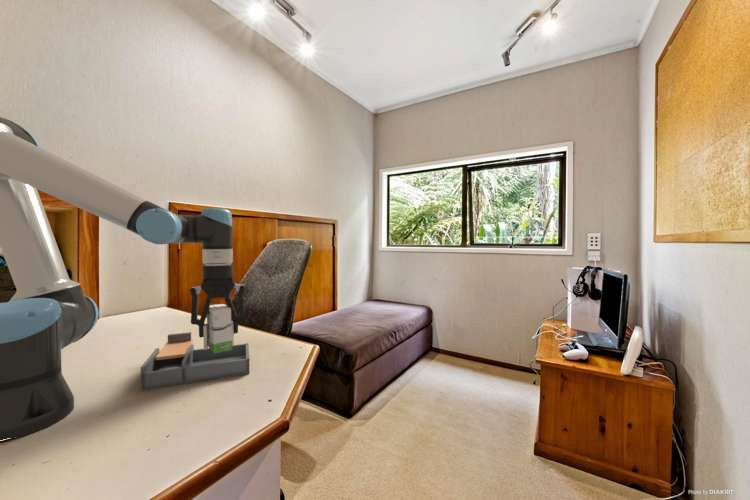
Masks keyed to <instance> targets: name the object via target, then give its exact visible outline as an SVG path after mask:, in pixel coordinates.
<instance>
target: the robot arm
mask: <svg viewBox="0 0 750 500" xmlns="http://www.w3.org/2000/svg"><path fill="white" fill-rule="evenodd" d="M38 190H39V191H41V192H43V193H45V194H47V195H50V196H52V197H53V198H57V199H58V200H60V201H63V202H65V203H68V204H69V205H72V206H74V207H77V208H79V209H81V210H83V211H86V212H88V213H89V214H93V215H94V216H97V217H99V218H100V219H103V220H106V221H108V222H109V223H112V224H115V225H117V226H119V227H121V228H123V229H126V230H128V231H130V232H132V233H134V234H135V235H138V236H140V237H141V238H142V239H143V240H145V241H147V242H149V243H152V244H155V245H168V244H202V245H201V246H202V252H201V253H202V255H201V256H202V264H204V265H203V266H202V282H201V284H200V285H198V286H192V287H191V288H190V289H189V292H190V294H191V314H190V315H191V316H190V324H191V325H197V327H198V337H199V338H203V349H204V350H207V348H209V347H208V324H207V323H205V322H206V320H207V313H208V310H209V307H210V305H212V302H213V301H212V300H213V299H218V298H221V299H224V301H225V304H226V306H228V307H229V308H231V332H232V346H234V345H235V334H238V333H239V322H240V321H242V320H245V316H246V315H245V305H244V304H245V303H244V294H243V293H244V291H245V284H243V283H241V284H239V283H236V282H235V280H234V266H233V265H232V264H233V262H234V255H233V253H234V252H233V250H234V249H233V216H232V215H233V214H232V212H231V211H230V209H226V208H220V207H219V208H218V207H207V208H205V207H204V208H202V210H201V213H200V215H199V214H198V215H189V214H187V215H186V214H176V213H174V212H172V211H170V210H168V209H166V208H163V207H161V206H159V205H157V204H156V203H153V202H151V201H148V200H147V199H145V198H143V197H140V196H139V195H137V194H135V193H134V192H131V191H129V190H127V189H124V188H122V187H121V186H118V185H116V184H114V183H113V182H111V181H108V180H106V179H105V178H103V177H100V176H98V175H96V174H94V173H92V172H90V171H89V170H86V169H84V168H82V167H80V166H78V165H76V164H74V163H72V162H70V161H68V160H65V158H64V159H63V158H62V157H60V156H58V155H56V154H54V153H52V152H50V151H47V150H45V149H43V148H42V146H41V144H40V143H39V141H38V140H37V138H36V137H35V136H34V135H33V134H32V133H31V132H29V131H28V130H26V129H25V128H24V127H22V126H21V125H19V124H18V123H16V122H14V121H12V120H10V119H7V118H5V117H4V118H3V117H2V116H0V250H1V253H2V255H3V258H4V260H5V264H6V266H7V268H8V270H9V273H10V275H11V279H12V281H13V283H14V286H15V289H16V292H15V293H14V295H13V296H12V297H11V298H10V300H9V301H7V302H0V440H3V439H7V438H14V439H16V438H15V437H17V438H21V437H23V436H26V435H30V434H33V433H35V432H38V431H40V430H43V429H45V428H47V427H49V426H51V425H53V424H56V423H57V422H59V421H61V420H63V419H64V418H65V417H67V416H68V415H70V414H71V413H72V411H74V408H75V396H74V394H73V392H72V390H71V388H70V387H69V385H68V383H67V381H66V379H65V377H64V375H63V371H62V350H63V349H64V348H66V347H68V346H69V345H71V344H73V343H76V342H78V341H79V340H81V339H83V338H84V337H85V336H86V335H87V334H89V333H90V332H91V331H92V330H93V328H94V327H95V326H96V324H97V322H98V319H99V314H100V313H99V308H98V305H97V304H96V302H95V300H94V299H92V298H91V297H89V296H87V295H85V294H84V291H83V288H82V285H81V283H79V282H77V281H74V280H72V279H71V278H70V277H69V274H68V271H67V269H66V266H65V265H66V264H65V263H64V260H63V258H62V257H63V256H62V254H61V252H60V250H59V247H58V243H57V241H56V238H55V236H54V233H53V230H52V228H51V224H50V222H49V219H48V216H47V213H46V211H45V208H44V205H43V202H42V200H41V196H40V194H39V191H38ZM234 288H235V291H236V292H237V297H238V299H237V300H238V307H239V310H238V311H239V315H238V314H237V312H236V309H235V307H234V304H233V301H232V299H231V295H230V293H231V292H232V290H233V289H234ZM201 290H202V291H203V292H204V293H205V294H206V295H207V297H206V301H205V303H204V306H203V309H202V312H201V314H200V319H199V318H198V315H199V314H198V311H199V294H200V293H201ZM20 436H21V437H20Z"/></svg>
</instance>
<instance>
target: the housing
mask: <svg viewBox="0 0 750 500" xmlns="http://www.w3.org/2000/svg"><path fill="white" fill-rule="evenodd" d="M159 352H160V348H159V347H158V348H155V349H154V350H153V351H152V353H151V354H150V356H148V358H147V359H146V360H145V361H144V363H143V364H142V365H141V367H140V391H147V390H153V389H161V388H167V387H172V386H173V387H174V386H179V385H186V384H192V383H193V384H194V383H200V382H206V381H213V380H218V379H220V380H221V379H224V378H232V377H238V376H245V375H249V374H250V349H249V343H247V342H246V343H241V344H234V346H232V350H229V351H224V352H220V353H215V354H214V353H213V352H212V351H211V349H210V348H209V347H208V348H207V350H204V348H198V349H197V348H196V349H195V345H194V343H193V344H192V345H190V347H189V349H188V351H187V353H186V355H185V357H179V358H171V359H163V360H156V359H155V357H156V356H157V355H158V353H159Z"/></svg>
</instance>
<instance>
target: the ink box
mask: <svg viewBox="0 0 750 500" xmlns="http://www.w3.org/2000/svg"><path fill="white" fill-rule="evenodd" d="M231 321H232V317H231V308H229V307H228V306H227V304H226V303H225V304H224V303H221V304H219V303H218V304H210V307H209V310H208V313H207V316H206V324H208V348H210V349H211V351H212V352H213V353H214V354H215V353H220V352H224V351H229V350H232V332H231Z"/></svg>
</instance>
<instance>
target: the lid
mask: <svg viewBox="0 0 750 500" xmlns="http://www.w3.org/2000/svg"><path fill="white" fill-rule="evenodd" d="M192 344H194V339H192V331H190V332H189V331H188V332H180V333H170V334H167V341H166V343H165V344H164V346H163V347H162V348H161V349H160V350H159V353H158V355H157V356H156V357H155V359H156V360H163V359H171V358H179V357H185V355H186V353H187V351H188V349H189V347H190V345H192Z"/></svg>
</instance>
